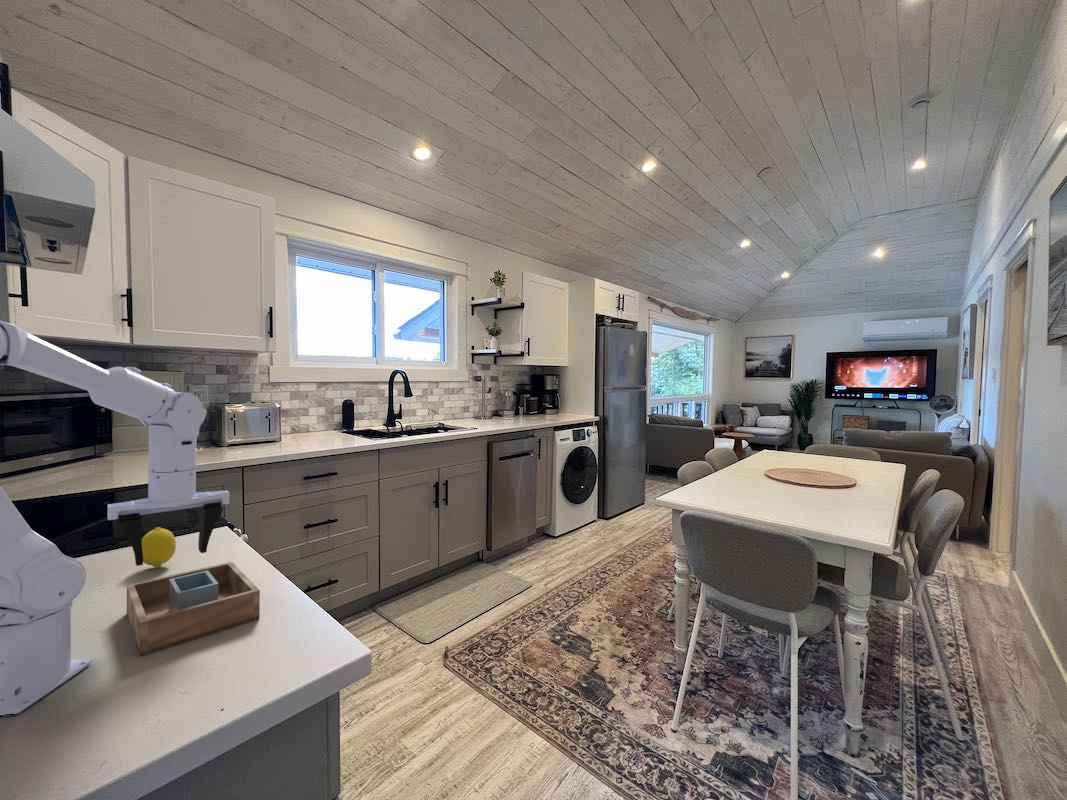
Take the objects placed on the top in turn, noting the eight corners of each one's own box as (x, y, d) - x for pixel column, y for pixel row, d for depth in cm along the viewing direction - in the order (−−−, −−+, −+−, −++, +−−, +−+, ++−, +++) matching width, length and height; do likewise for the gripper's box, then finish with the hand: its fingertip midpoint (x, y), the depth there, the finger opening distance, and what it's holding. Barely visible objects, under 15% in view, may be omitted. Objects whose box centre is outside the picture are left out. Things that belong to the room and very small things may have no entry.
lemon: (154, 574, 85) (154, 532, 85) (131, 571, 86) (131, 530, 86) (182, 563, 90) (183, 524, 90) (160, 561, 91) (160, 522, 91)
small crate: (218, 615, 69) (218, 583, 69) (177, 627, 66) (177, 593, 65) (207, 600, 74) (207, 570, 74) (168, 610, 70) (169, 579, 70)
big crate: (259, 618, 70) (259, 590, 70) (139, 656, 59) (140, 622, 59) (231, 586, 81) (231, 561, 80) (126, 613, 70) (126, 585, 70)
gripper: (222, 461, 77) (222, 540, 77) (106, 471, 67) (106, 561, 67) (233, 467, 72) (232, 551, 73) (109, 478, 62) (108, 576, 62)
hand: (172, 557), depth 69 cm, fingers open, 7 cm apart
